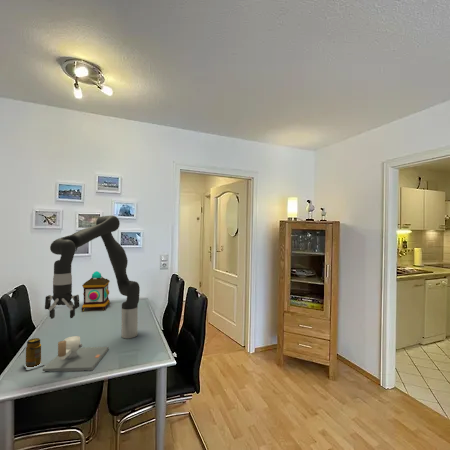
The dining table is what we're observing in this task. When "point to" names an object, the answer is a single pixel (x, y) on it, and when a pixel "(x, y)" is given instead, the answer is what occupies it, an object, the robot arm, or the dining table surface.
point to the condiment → (33, 352)
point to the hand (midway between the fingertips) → (62, 318)
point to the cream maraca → (68, 346)
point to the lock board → (78, 360)
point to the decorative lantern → (96, 292)
